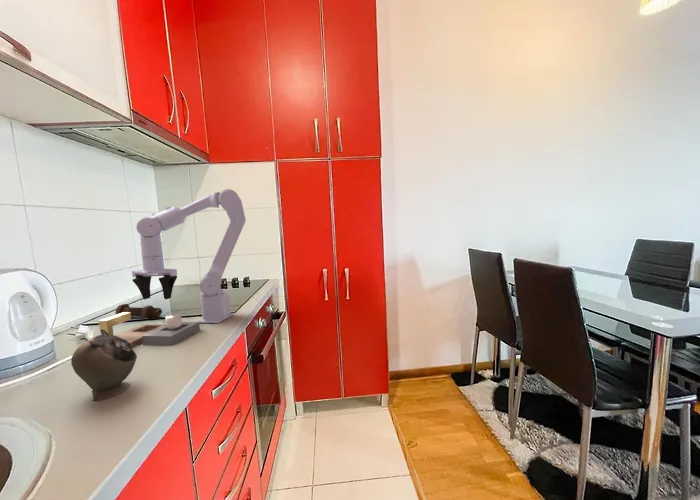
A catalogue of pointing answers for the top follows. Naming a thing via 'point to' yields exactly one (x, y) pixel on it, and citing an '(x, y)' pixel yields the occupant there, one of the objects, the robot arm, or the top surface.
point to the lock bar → (113, 322)
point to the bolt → (140, 311)
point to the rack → (170, 334)
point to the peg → (173, 322)
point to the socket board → (137, 333)
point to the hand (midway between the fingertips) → (157, 298)
